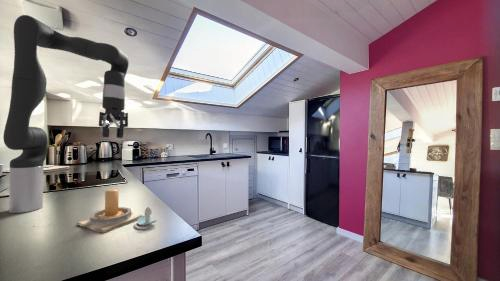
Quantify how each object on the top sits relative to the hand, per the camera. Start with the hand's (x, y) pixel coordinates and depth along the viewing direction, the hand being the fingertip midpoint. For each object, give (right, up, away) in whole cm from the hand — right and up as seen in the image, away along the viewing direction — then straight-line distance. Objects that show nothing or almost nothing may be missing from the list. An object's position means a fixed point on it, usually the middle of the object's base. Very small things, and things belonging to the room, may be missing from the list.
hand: (112, 137), depth 84 cm
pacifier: (+20, -31, -14) cm, 39 cm away
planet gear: (+7, -29, -11) cm, 32 cm away
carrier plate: (+7, -30, -11) cm, 32 cm away
